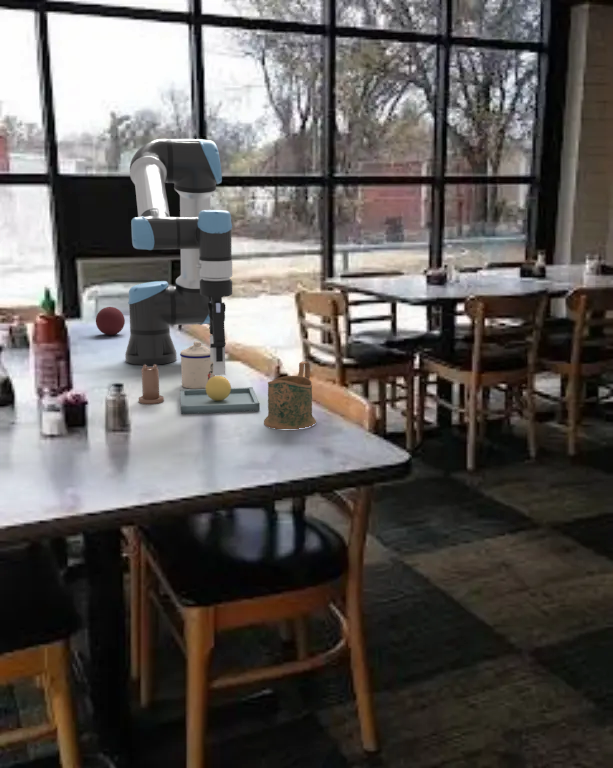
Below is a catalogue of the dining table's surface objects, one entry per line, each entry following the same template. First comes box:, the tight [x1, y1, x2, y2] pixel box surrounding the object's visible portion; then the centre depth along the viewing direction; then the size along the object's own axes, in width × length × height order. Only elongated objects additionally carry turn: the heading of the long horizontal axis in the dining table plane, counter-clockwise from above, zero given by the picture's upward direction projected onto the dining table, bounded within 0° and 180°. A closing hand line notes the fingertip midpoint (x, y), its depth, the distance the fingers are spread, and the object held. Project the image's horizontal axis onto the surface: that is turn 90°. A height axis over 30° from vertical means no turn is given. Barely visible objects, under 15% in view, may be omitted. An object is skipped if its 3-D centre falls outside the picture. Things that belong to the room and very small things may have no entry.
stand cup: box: [138, 364, 165, 405], centre depth 192 cm, size 6×6×9 cm
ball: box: [205, 375, 232, 401], centre depth 190 cm, size 6×6×6 cm
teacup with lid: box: [179, 341, 216, 390], centre depth 209 cm, size 12×9×12 cm
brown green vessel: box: [263, 360, 317, 430], centre depth 177 cm, size 12×18×12 cm, turn 161°
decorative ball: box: [95, 306, 126, 336], centre depth 281 cm, size 10×10×10 cm
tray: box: [179, 386, 261, 415], centre depth 191 cm, size 16×18×2 cm
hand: (217, 367), depth 189 cm, fingers open, 13 cm apart
